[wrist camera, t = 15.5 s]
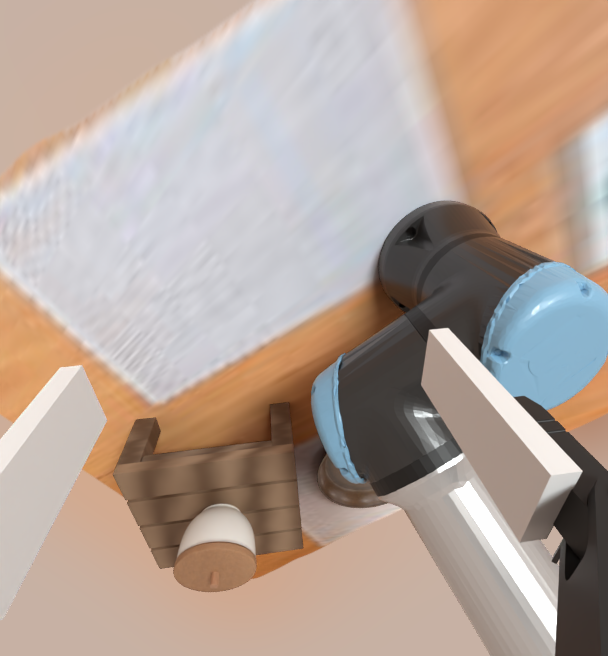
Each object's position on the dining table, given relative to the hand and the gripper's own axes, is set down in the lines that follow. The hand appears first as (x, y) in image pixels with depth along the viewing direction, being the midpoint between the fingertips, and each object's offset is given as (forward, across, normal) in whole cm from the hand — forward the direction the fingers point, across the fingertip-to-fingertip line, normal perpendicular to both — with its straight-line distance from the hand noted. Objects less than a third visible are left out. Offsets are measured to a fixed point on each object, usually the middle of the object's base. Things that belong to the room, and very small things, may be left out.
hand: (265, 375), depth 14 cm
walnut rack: (+32, +11, +42) cm, 54 cm away
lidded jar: (+22, +11, +42) cm, 49 cm away
